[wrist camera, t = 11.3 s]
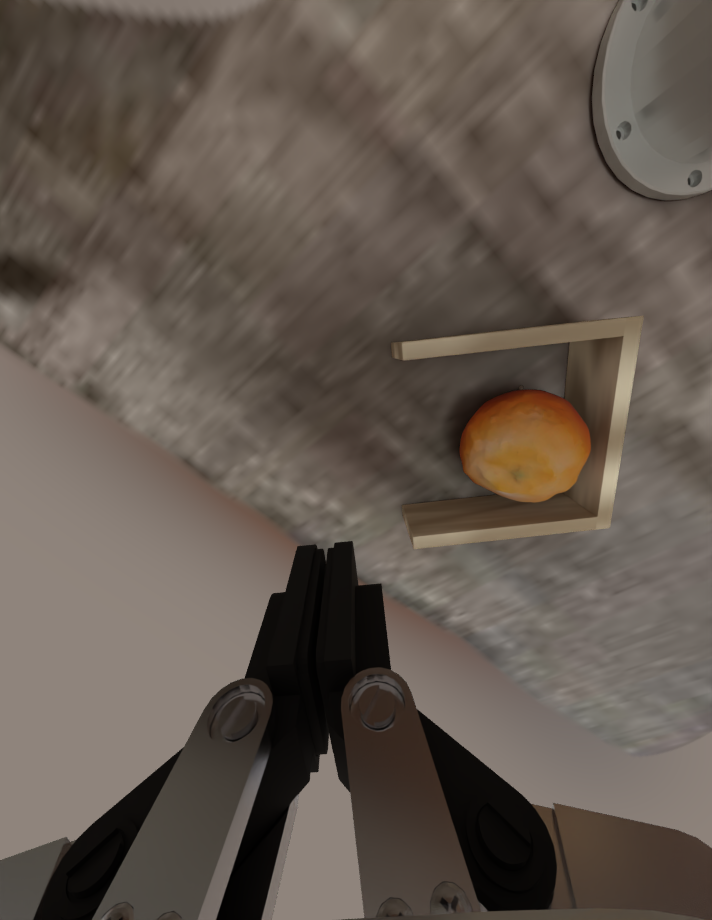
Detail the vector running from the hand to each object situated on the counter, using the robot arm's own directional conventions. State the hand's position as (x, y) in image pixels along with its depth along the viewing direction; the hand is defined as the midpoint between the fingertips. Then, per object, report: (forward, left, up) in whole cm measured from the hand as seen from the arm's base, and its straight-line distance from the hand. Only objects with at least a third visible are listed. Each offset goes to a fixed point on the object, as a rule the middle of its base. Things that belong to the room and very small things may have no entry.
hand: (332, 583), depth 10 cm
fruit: (+1, +12, -17) cm, 21 cm away
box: (0, +11, -17) cm, 21 cm away
